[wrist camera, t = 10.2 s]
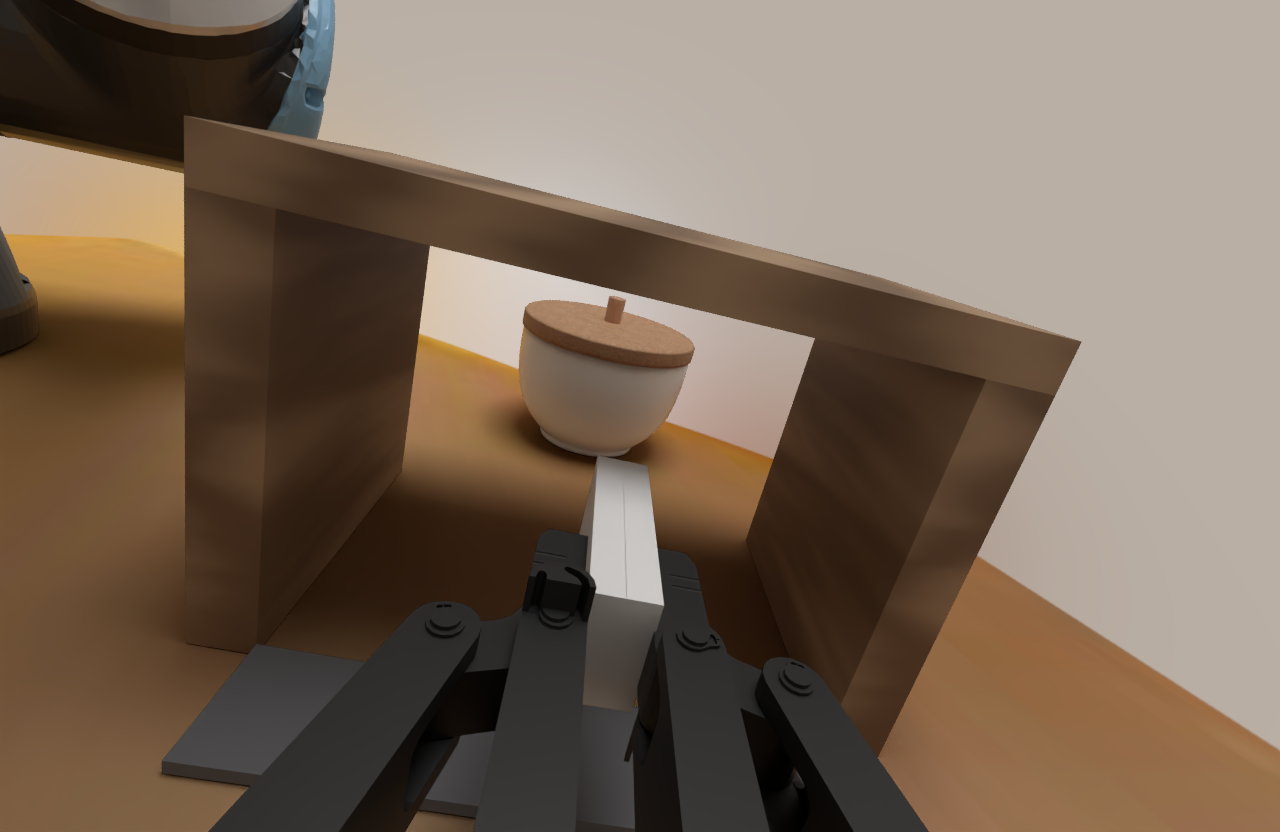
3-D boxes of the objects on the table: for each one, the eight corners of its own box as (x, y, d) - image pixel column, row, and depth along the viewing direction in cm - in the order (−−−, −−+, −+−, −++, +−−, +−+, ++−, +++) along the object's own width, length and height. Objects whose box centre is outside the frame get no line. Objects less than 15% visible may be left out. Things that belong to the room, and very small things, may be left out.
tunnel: (185, 642, 18) (183, 115, 13) (360, 462, 30) (391, 152, 26) (878, 756, 20) (1081, 341, 16) (781, 546, 33) (880, 277, 28)
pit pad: (162, 773, 15) (162, 761, 14) (256, 654, 18) (256, 643, 18) (868, 873, 17) (873, 862, 16) (821, 747, 20) (825, 738, 20)
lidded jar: (528, 394, 46) (552, 268, 43) (668, 430, 46) (702, 307, 43) (480, 445, 36) (507, 285, 32) (659, 492, 35) (703, 336, 32)
